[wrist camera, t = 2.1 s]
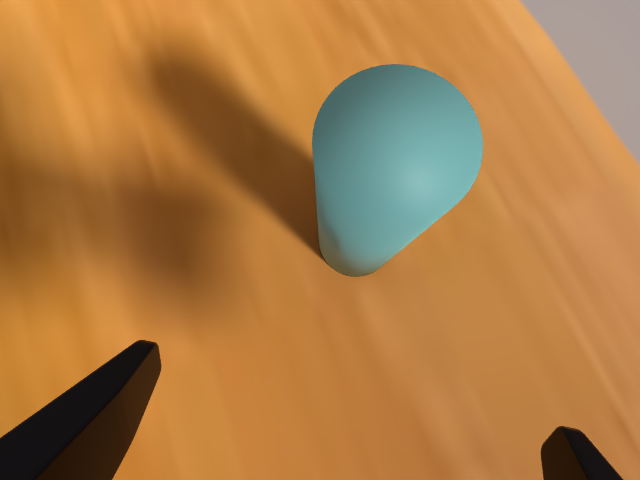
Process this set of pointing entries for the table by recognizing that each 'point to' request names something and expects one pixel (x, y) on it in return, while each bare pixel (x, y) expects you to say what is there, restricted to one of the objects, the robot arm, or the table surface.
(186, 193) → the table surface
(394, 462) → the table surface
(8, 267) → the table surface
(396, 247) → the peg
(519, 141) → the table surface
